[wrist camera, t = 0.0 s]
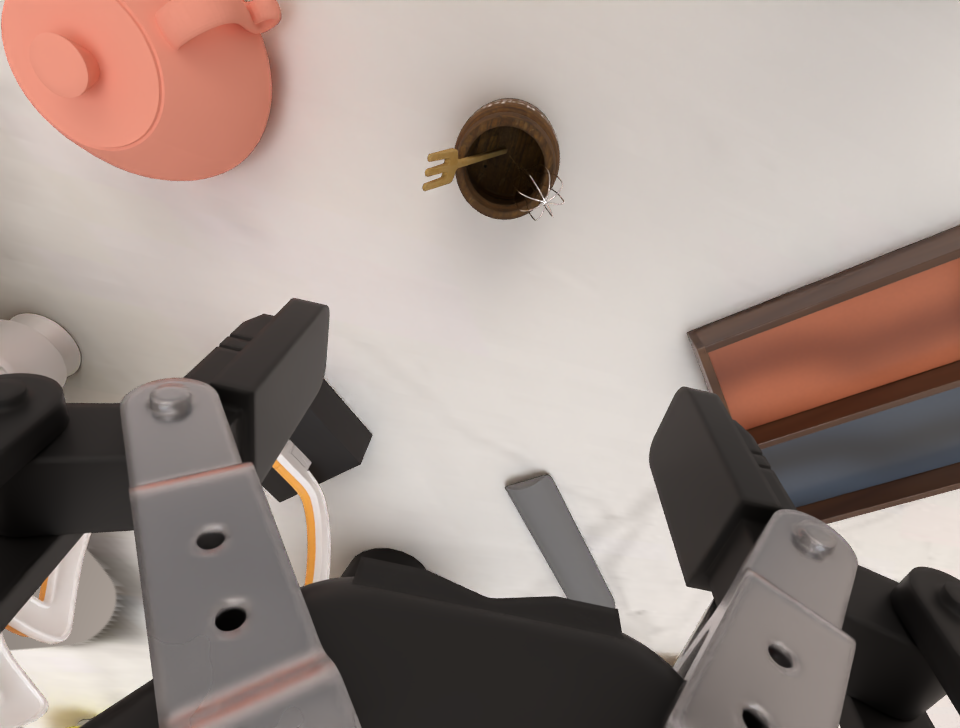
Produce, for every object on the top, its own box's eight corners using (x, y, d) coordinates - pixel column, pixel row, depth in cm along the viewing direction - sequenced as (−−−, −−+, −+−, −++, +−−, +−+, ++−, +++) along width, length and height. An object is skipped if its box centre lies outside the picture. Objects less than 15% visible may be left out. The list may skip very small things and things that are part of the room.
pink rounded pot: (38, -10, 30) (-163, -38, 21) (240, -125, 27) (102, -214, 18) (167, 197, 36) (49, 242, 27) (348, 122, 33) (282, 144, 24)
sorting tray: (686, 332, 38) (696, 349, 36) (975, 218, 33) (1008, 230, 30) (756, 516, 46) (768, 539, 44) (996, 449, 41) (1023, 471, 39)
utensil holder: (541, 208, 34) (548, 273, 24) (447, 184, 34) (413, 239, 24) (569, 111, 31) (591, 136, 21) (466, 83, 31) (437, 96, 21)
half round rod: (577, 613, 55) (578, 629, 53) (501, 480, 46) (500, 495, 45) (617, 605, 53) (619, 621, 52) (547, 467, 45) (547, 481, 44)
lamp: (191, 366, 43) (-404, 916, 15) (269, 317, 40) (-290, 881, 12) (324, 501, 49) (74, 1053, 22) (400, 466, 46) (221, 1051, 19)
